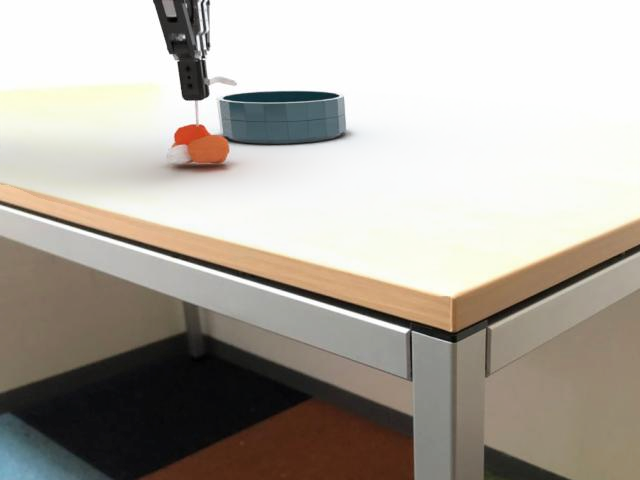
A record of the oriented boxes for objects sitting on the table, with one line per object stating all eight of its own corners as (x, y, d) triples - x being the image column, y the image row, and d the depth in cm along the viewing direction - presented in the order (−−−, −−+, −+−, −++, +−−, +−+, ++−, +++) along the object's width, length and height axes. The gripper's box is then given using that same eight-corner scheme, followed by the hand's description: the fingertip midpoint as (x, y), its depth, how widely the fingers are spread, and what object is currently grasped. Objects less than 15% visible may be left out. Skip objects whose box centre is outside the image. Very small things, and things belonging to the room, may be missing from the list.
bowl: (211, 146, 92) (205, 103, 90) (233, 127, 107) (228, 91, 105) (344, 143, 94) (342, 102, 92) (348, 125, 108) (346, 89, 106)
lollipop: (213, 167, 74) (201, 37, 70) (152, 164, 79) (138, 43, 75) (258, 164, 79) (250, 42, 75) (198, 162, 83) (187, 48, 80)
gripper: (148, -88, 75) (174, 93, 82) (104, -109, 62) (139, 107, 69) (225, -87, 75) (244, 92, 82) (196, -108, 63) (222, 106, 70)
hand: (196, 98), depth 76 cm, fingers closed on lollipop, 1 cm apart
